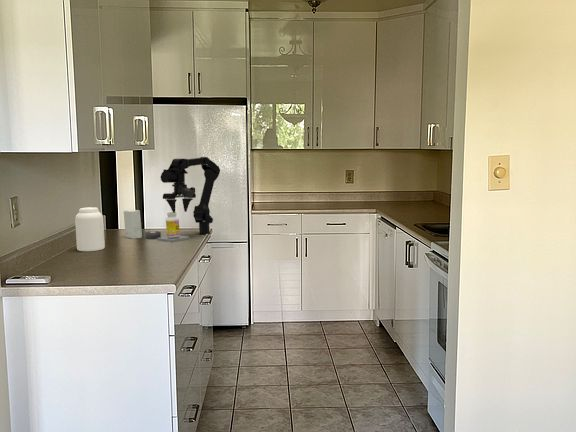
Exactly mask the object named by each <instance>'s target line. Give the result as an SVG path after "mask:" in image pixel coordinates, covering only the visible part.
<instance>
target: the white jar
mask: <svg viewBox="0 0 576 432" xmlns="http://www.w3.org/2000/svg"><path fill="white" fill-rule="evenodd" d="M74 221H75V223H74V225H75V226H74V227H75V238H76V249H77V251H79V252H82V253H83V252H85V253H86V252H97V251H101V250H104V249H105V247H106V244H105V227H104V226H105V225H104V216H103V213H101V211H99V207H95V206H89V207H81V208H79V210H78V213H77V214H76V215H75V218H74Z"/></svg>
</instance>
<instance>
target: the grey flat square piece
mask: <svg viewBox="0 0 576 432" xmlns="http://www.w3.org/2000/svg"><path fill="white" fill-rule="evenodd" d="M190 239H191V236H186V235H180V236H179V237H176V238H168V237H167V235H165V236H161V237H159V238H157V239H156V241H159V242H160V241H161V242H166V243H167V242H169V243H175V242H176V243H177V242H181V241H185V240H187V241H188V240H190Z"/></svg>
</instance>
